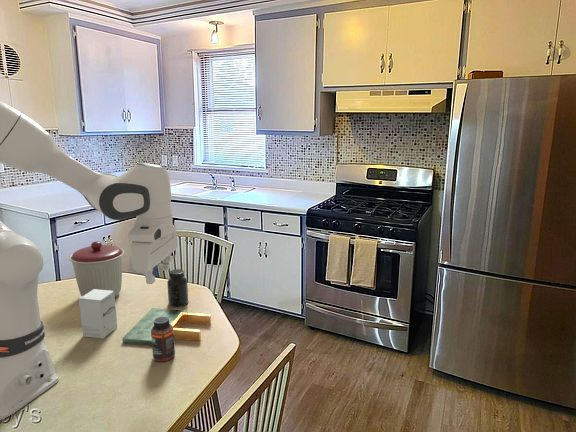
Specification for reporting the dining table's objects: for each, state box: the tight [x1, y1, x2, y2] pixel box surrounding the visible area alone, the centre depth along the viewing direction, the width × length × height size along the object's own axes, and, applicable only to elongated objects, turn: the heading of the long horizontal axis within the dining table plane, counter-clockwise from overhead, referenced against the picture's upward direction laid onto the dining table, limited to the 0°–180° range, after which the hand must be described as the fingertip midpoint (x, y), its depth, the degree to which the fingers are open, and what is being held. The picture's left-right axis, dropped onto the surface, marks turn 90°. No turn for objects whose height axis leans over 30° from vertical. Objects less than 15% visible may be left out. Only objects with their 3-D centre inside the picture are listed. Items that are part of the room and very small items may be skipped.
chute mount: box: [121, 307, 212, 346], centre depth 132 cm, size 20×22×3 cm
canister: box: [68, 240, 125, 298], centre depth 153 cm, size 18×18×21 cm
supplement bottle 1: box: [151, 317, 176, 363], centre depth 116 cm, size 6×6×11 cm
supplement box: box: [78, 289, 118, 340], centre depth 129 cm, size 7×7×13 cm
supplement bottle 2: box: [167, 268, 189, 308], centre depth 149 cm, size 7×7×12 cm
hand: (158, 276), depth 112 cm, fingers open, 8 cm apart
